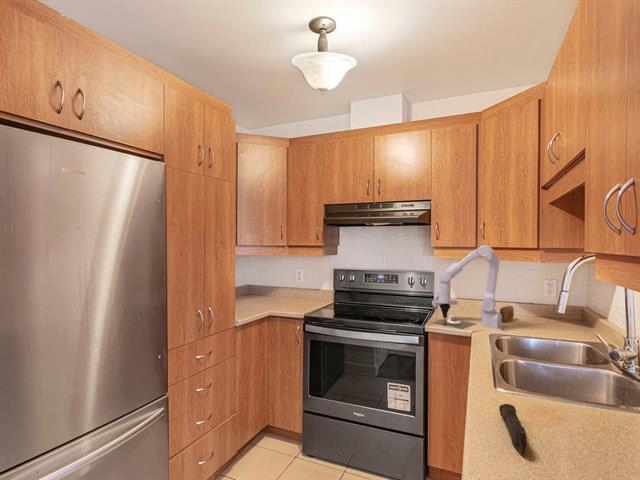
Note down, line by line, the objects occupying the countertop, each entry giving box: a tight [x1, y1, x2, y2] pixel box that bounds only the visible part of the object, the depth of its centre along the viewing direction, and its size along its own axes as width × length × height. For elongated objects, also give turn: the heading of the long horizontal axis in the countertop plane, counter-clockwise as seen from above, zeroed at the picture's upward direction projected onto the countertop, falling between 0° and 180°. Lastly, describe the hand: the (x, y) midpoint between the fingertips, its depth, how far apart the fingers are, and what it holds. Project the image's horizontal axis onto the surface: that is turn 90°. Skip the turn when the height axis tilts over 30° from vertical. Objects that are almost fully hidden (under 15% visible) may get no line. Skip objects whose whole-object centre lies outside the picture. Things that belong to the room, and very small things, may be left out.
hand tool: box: [498, 403, 528, 457], centre depth 90 cm, size 19×4×5 cm, turn 160°
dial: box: [444, 313, 462, 325], centre depth 204 cm, size 11×7×3 cm, turn 13°
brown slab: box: [498, 305, 515, 323], centre depth 215 cm, size 15×3×8 cm, turn 132°
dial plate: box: [431, 318, 477, 330], centre depth 202 cm, size 18×18×1 cm
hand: (444, 317), depth 208 cm, fingers closed
